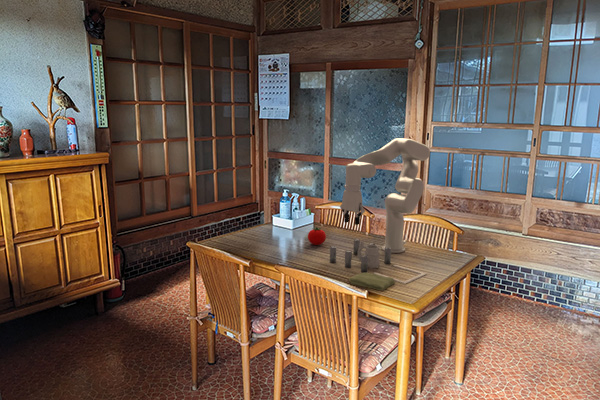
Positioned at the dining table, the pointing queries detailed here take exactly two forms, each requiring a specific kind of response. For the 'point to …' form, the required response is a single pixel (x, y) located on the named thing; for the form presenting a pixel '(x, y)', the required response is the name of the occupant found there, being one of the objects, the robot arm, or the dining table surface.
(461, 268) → the dining table surface
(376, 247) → the mug
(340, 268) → the dining table surface
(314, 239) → the tomato
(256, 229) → the dining table surface
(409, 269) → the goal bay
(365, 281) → the washcloth
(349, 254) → the posts
